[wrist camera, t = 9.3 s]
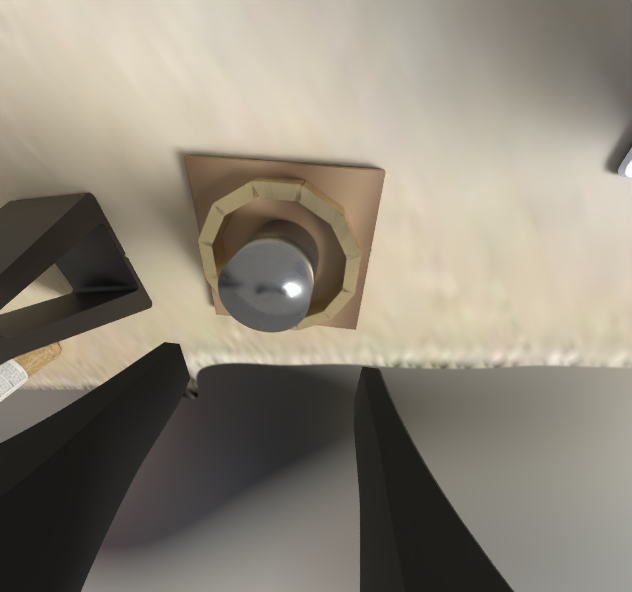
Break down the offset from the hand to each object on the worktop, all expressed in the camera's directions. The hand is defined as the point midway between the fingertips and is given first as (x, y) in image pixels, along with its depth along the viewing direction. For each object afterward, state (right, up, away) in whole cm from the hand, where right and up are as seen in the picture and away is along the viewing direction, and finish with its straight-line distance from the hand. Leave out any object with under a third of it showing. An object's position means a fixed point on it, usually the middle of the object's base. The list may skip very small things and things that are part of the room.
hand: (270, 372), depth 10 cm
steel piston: (0, +6, +7) cm, 9 cm away
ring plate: (0, +6, +7) cm, 10 cm away
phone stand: (-15, +6, +9) cm, 19 cm away
